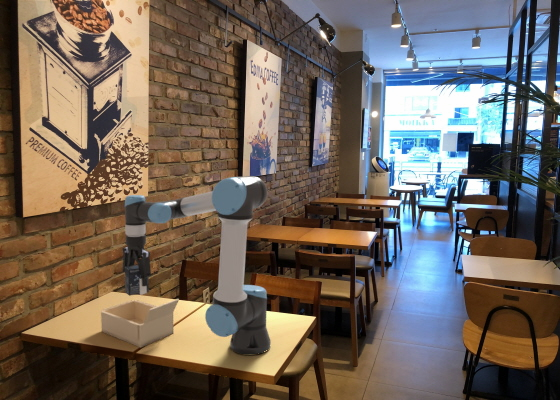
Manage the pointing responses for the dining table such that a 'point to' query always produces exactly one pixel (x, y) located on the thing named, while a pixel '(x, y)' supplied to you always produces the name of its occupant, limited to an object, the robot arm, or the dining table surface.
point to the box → (133, 280)
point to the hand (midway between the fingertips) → (136, 291)
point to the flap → (161, 311)
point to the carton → (135, 323)
